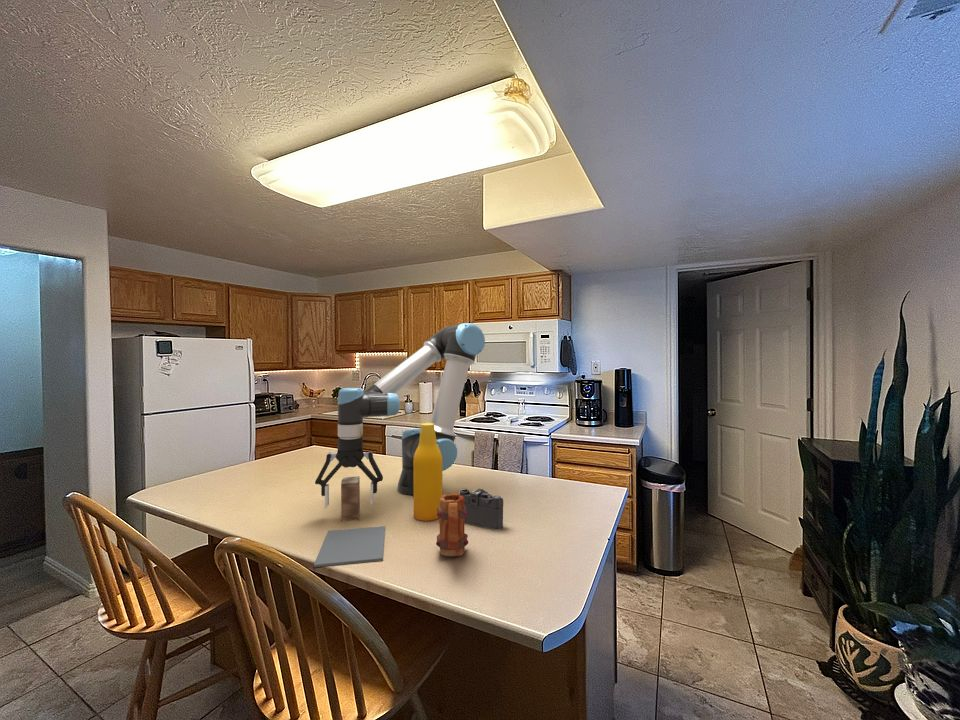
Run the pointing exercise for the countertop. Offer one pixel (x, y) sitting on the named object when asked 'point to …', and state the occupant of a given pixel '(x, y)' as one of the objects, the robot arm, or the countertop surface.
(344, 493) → the block
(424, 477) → the beer bottle
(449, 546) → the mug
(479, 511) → the camera
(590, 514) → the countertop surface
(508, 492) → the countertop surface
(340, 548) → the mat
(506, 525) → the countertop surface
